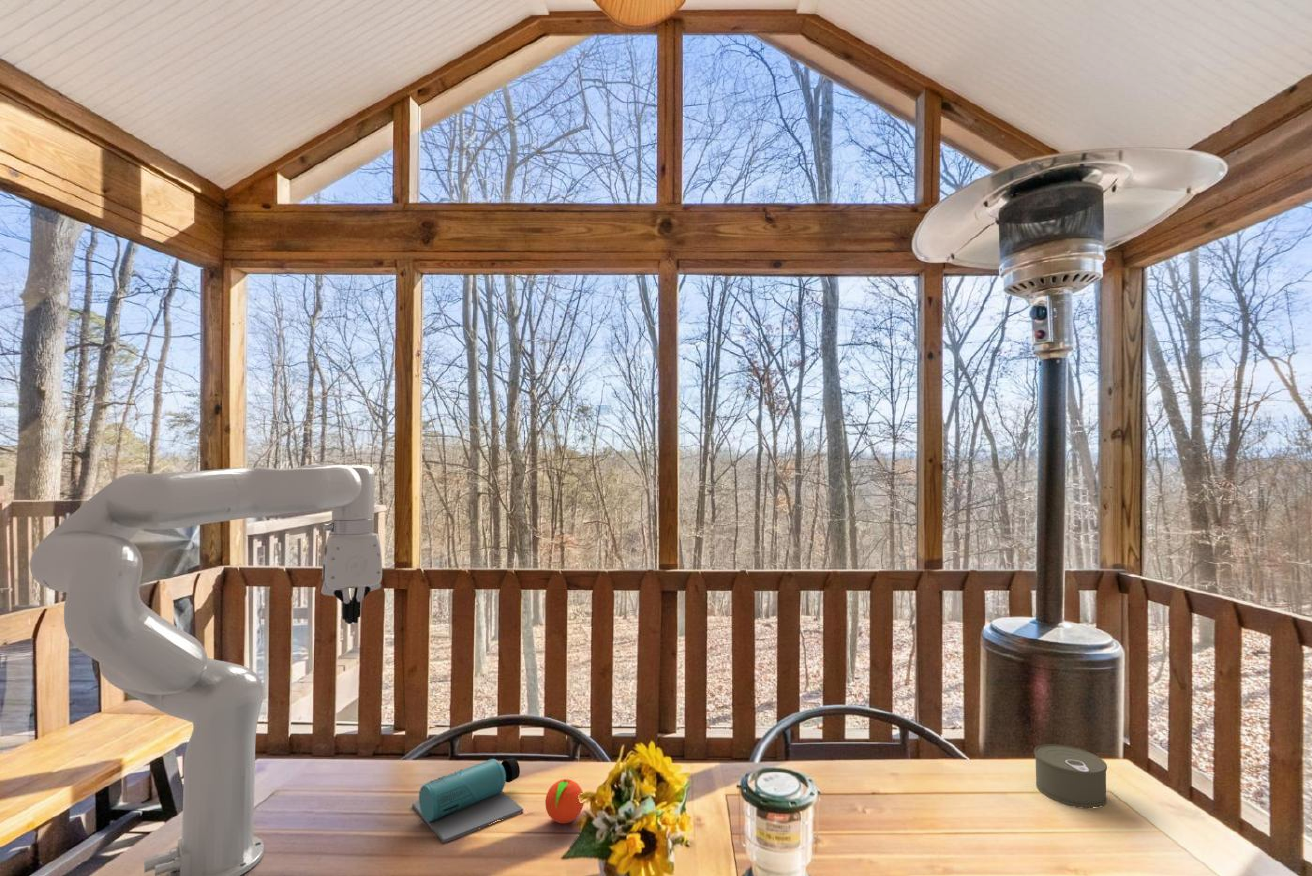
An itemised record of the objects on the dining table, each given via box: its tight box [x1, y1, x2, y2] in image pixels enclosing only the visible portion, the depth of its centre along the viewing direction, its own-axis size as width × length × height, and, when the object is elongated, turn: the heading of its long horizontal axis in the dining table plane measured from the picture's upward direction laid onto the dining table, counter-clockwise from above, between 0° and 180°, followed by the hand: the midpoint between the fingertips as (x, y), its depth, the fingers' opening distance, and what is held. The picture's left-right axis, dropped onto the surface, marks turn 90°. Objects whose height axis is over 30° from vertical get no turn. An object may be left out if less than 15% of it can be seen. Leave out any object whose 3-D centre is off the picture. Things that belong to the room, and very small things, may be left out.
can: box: [1033, 743, 1108, 809], centre depth 126 cm, size 12×12×7 cm
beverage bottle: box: [418, 757, 521, 822], centre depth 120 cm, size 6×7×20 cm
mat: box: [411, 790, 524, 844], centre depth 119 cm, size 15×15×1 cm
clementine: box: [544, 778, 585, 824], centre depth 115 cm, size 8×7×7 cm
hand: (351, 621), depth 126 cm, fingers closed
